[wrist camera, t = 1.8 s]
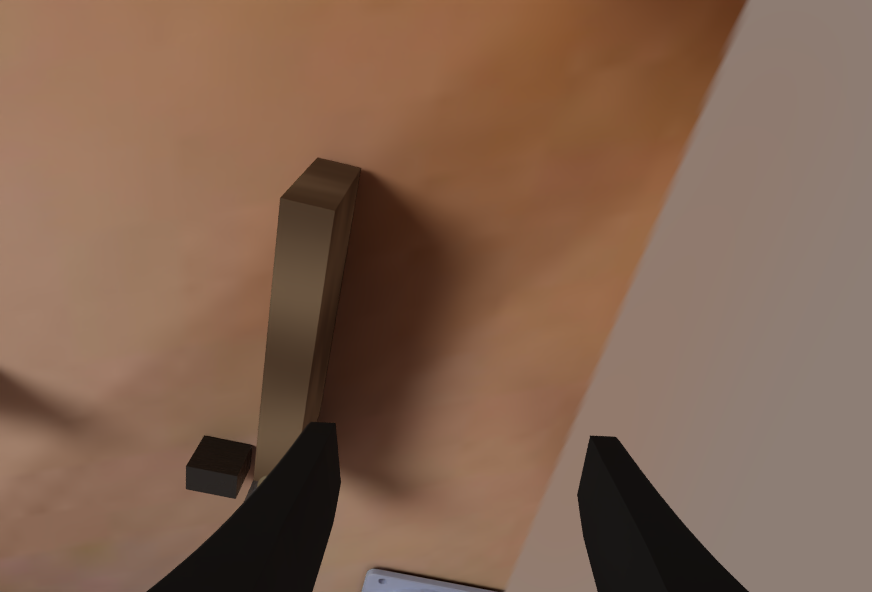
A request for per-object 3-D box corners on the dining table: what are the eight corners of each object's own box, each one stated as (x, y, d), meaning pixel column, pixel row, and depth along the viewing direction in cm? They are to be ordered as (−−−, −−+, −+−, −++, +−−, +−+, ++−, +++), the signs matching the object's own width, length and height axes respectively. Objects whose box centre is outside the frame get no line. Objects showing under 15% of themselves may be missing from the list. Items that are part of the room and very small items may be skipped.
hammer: (327, 421, 26) (292, 528, 21) (316, 480, 28) (283, 591, 23) (-152, 321, 24) (-321, 410, 19) (-127, 391, 26) (-273, 489, 21)
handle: (318, 423, 26) (290, 501, 22) (284, 416, 25) (251, 494, 21) (360, 167, 19) (334, 211, 15) (317, 157, 19) (279, 199, 15)
